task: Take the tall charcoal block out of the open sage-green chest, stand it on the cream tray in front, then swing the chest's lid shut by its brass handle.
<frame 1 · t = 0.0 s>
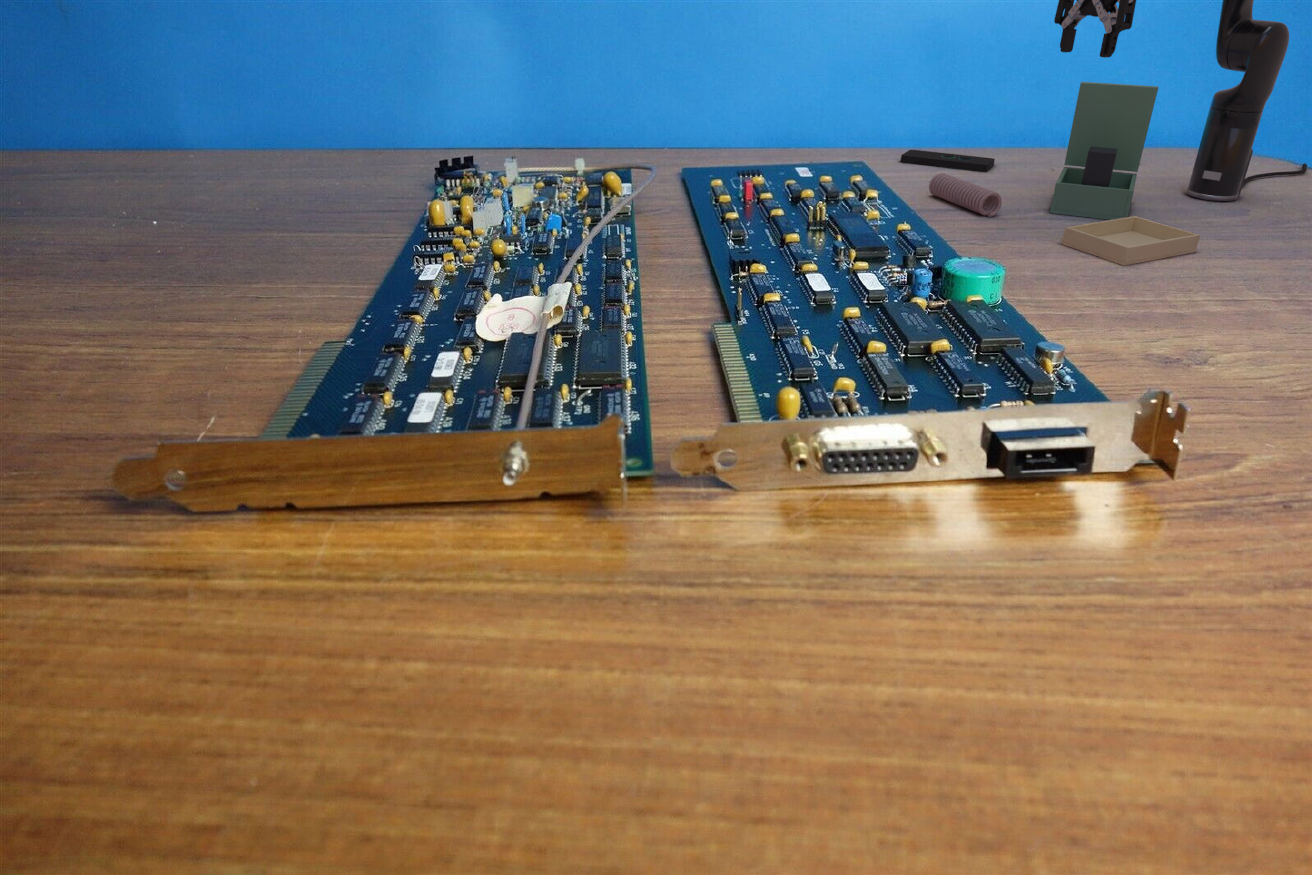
hand: (1085, 54, 161), 29 cm above the table, tool pointing down, fingers open, 8 cm apart
block: (1090, 208, 181), point 1 cm above the table, touching chest
coil: (961, 206, 185), on the table
usb drive: (1108, 163, 221), on the table
tray: (1127, 248, 161), on the table
chest: (1090, 207, 184), on the table
smart home device: (946, 164, 219), on the table
lid: (1110, 123, 184), point 15 cm above the table, hinge at 80.0°
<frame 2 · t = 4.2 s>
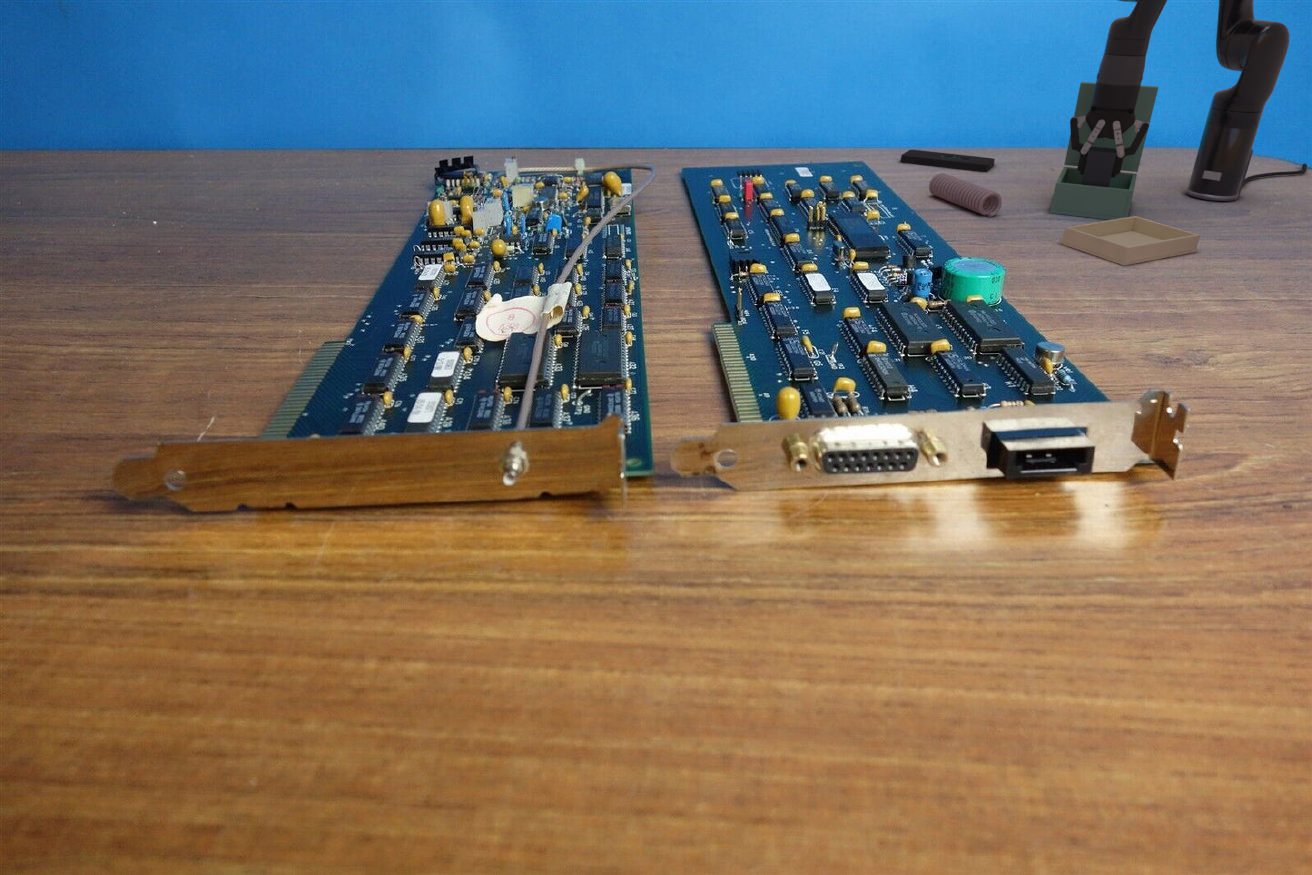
hand: (1097, 174, 178), 7 cm above the table, tool pointing down, fingers closed on block, 4 cm apart
block: (1090, 208, 181), point 1 cm above the table, touching chest, gripper
everything else where it was.
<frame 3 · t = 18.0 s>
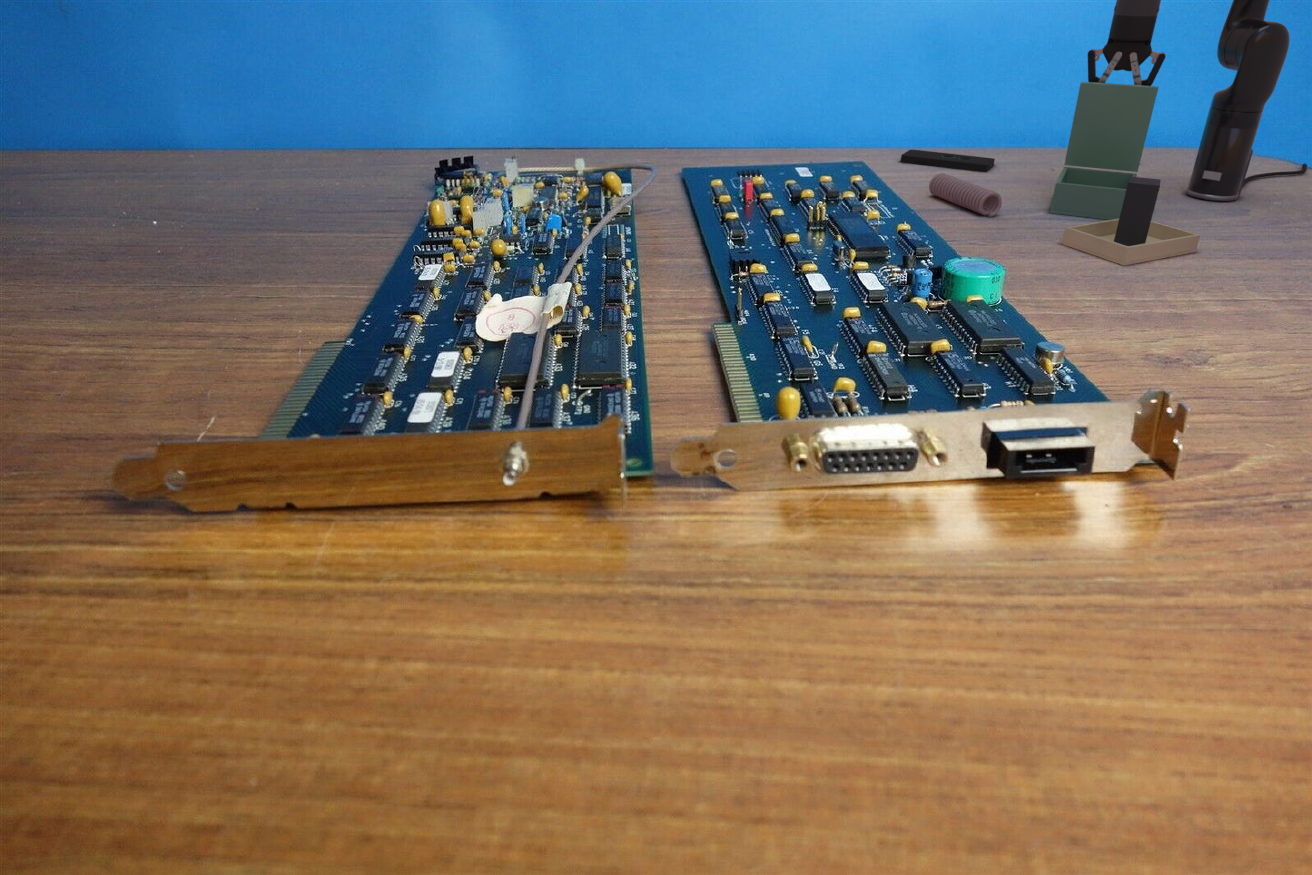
hand: (1114, 107, 182), 18 cm above the table, tool pointing down, fingers closed on lid, 5 cm apart
block: (1128, 245, 161), resting on tray
lid: (1110, 123, 184), point 15 cm above the table, hinge at 80.0°, touching gripper
everything else where it was.
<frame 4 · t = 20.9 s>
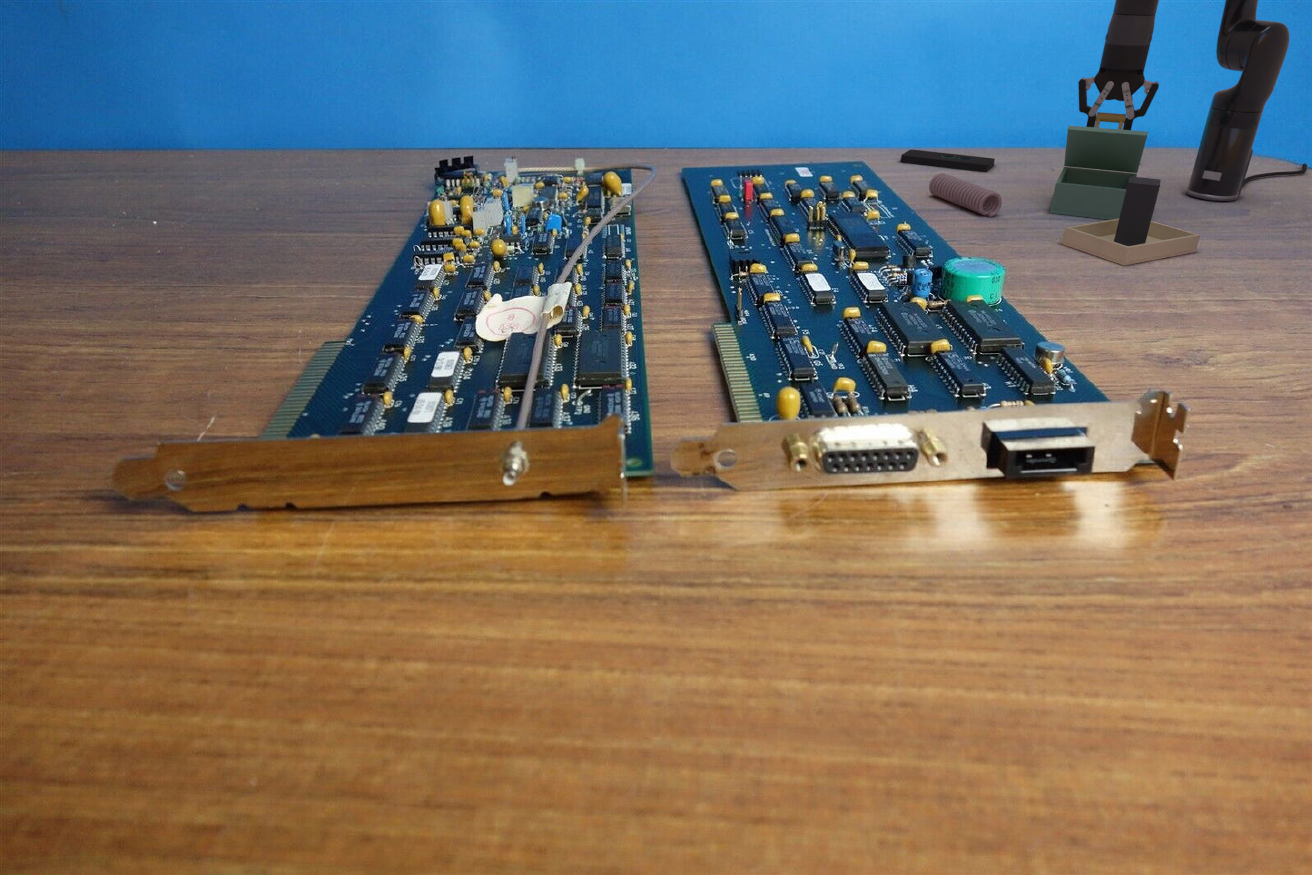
hand: (1106, 137, 177), 14 cm above the table, tool pointing down, fingers closed on lid, 5 cm apart
lid: (1106, 140, 180), point 13 cm above the table, hinge at 35.1°, touching gripper
everything else where it was.
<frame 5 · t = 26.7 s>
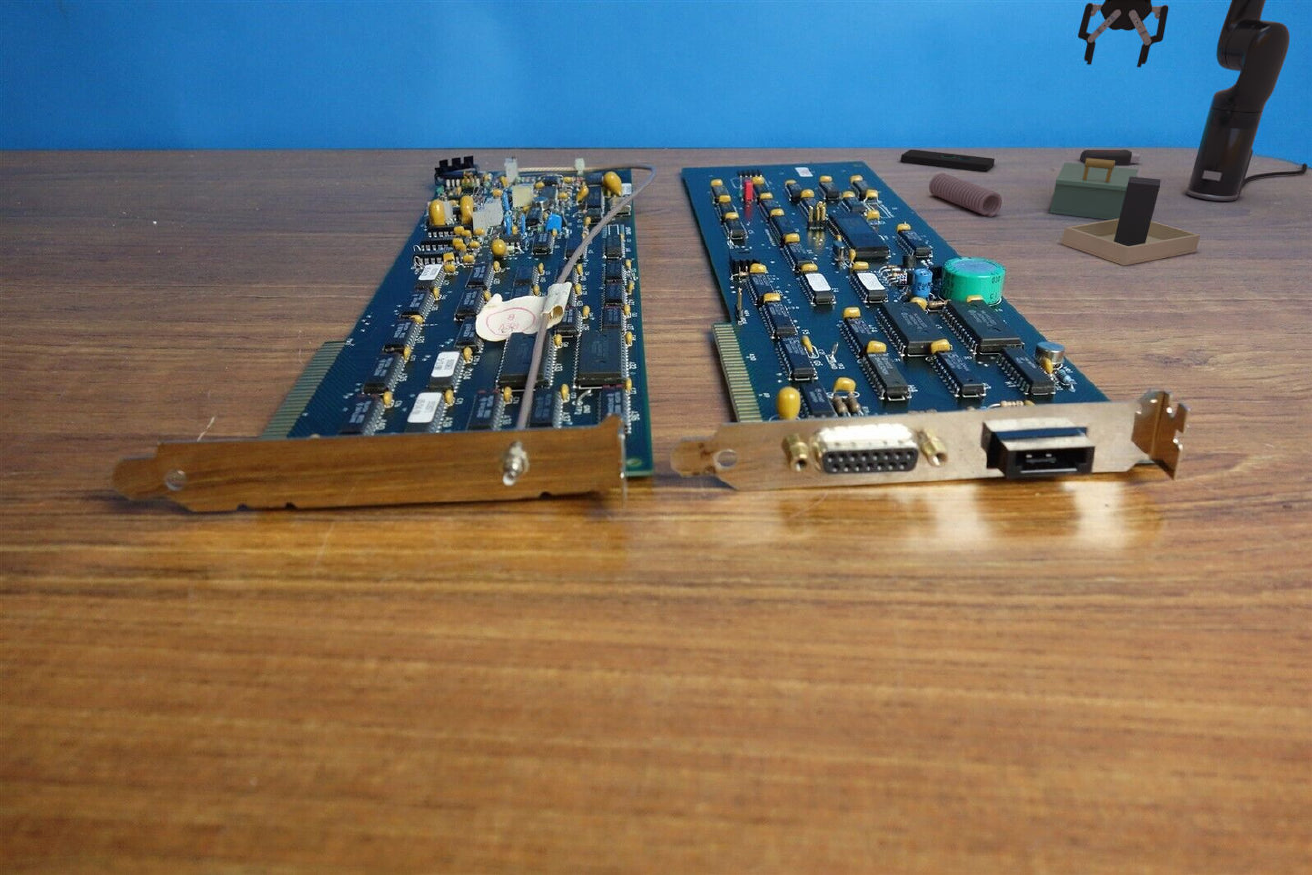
hand: (1113, 65, 173), 26 cm above the table, tool pointing down, fingers open, 8 cm apart
lid: (1100, 166, 180), point 8 cm above the table, hinge at -0.2°, touching chest
everything else where it was.
at the end: block inside the target area in the tray (0.0 cm from its centre), point 0.5 cm above the tray's base; block tilted 0°; lid at +0° (first picture: +80°) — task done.
